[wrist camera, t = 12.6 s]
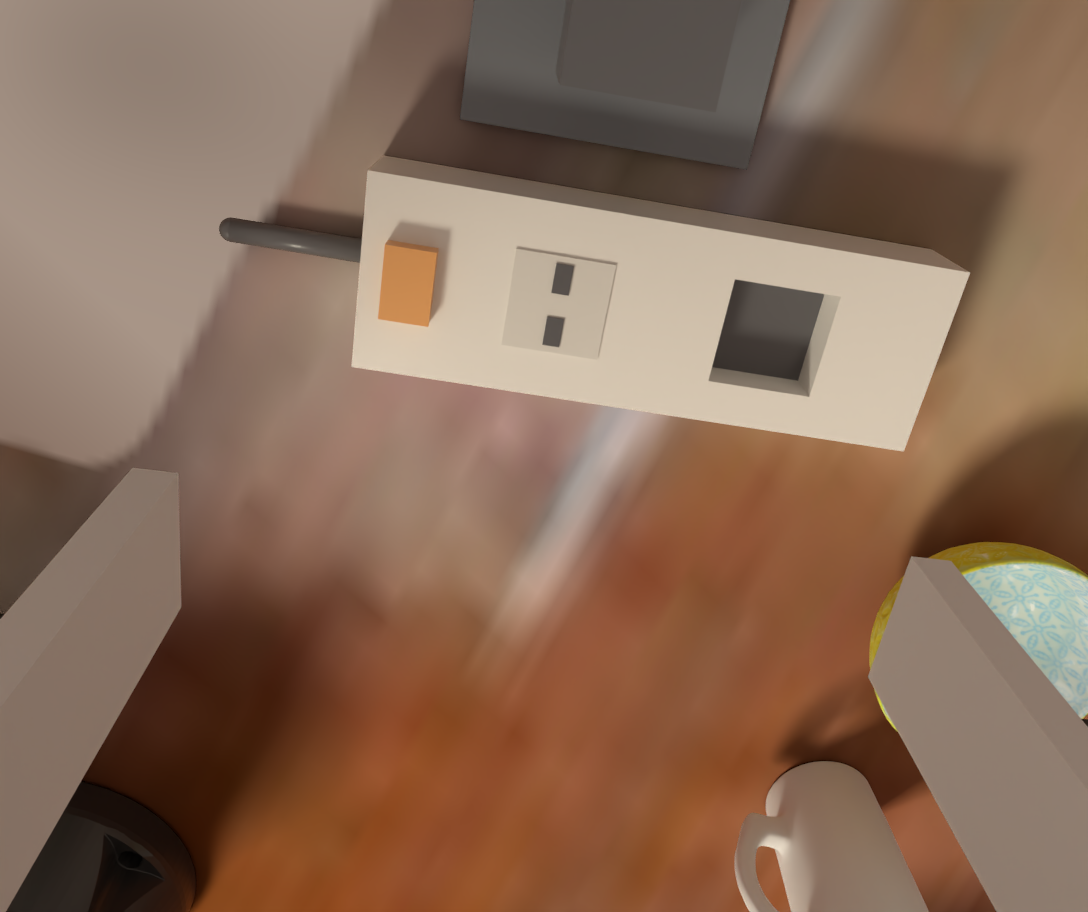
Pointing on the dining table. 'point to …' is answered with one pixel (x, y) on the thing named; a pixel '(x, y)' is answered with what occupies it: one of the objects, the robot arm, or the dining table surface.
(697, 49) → the charger
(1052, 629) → the bowl
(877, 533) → the dining table surface
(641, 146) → the mat
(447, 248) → the strip
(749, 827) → the mug
